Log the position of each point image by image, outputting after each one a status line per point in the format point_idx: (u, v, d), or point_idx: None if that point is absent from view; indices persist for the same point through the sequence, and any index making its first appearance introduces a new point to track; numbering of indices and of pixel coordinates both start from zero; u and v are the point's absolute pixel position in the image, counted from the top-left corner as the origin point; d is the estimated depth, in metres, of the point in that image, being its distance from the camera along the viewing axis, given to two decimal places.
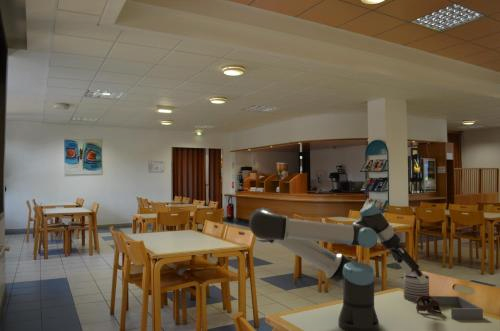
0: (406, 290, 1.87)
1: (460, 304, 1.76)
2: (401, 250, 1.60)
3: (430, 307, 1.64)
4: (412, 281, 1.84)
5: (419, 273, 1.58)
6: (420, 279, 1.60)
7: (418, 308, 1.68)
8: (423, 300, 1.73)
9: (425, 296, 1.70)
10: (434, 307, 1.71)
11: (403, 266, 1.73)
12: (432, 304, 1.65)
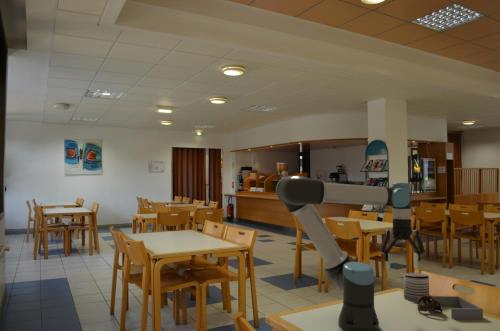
0: (406, 290, 1.87)
1: (460, 304, 1.76)
2: None
3: (431, 307, 1.64)
4: (412, 281, 1.84)
5: None
6: None
7: (419, 308, 1.68)
8: (424, 300, 1.72)
9: (426, 296, 1.70)
10: (435, 307, 1.71)
11: None
12: (433, 304, 1.65)
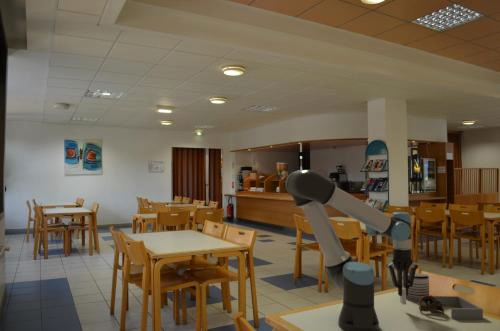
0: None
1: (460, 304, 1.76)
2: None
3: (433, 307, 1.64)
4: None
5: None
6: None
7: (421, 308, 1.67)
8: (426, 300, 1.72)
9: (428, 296, 1.70)
10: (437, 307, 1.71)
11: None
12: (435, 304, 1.64)
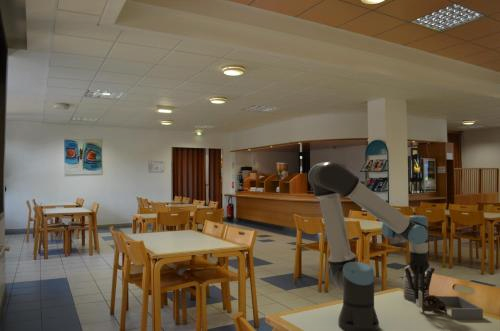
0: (406, 290, 1.87)
1: (460, 304, 1.76)
2: None
3: (436, 307, 1.64)
4: None
5: None
6: None
7: (424, 308, 1.67)
8: (428, 300, 1.72)
9: (431, 296, 1.70)
10: (440, 307, 1.70)
11: None
12: (438, 304, 1.64)
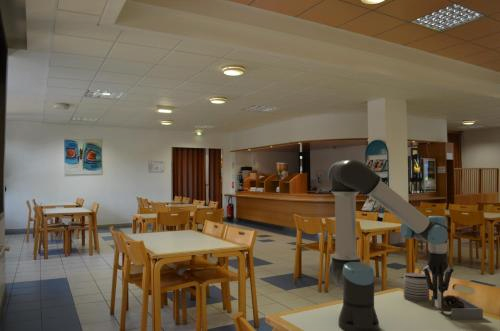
0: (406, 290, 1.87)
1: None
2: None
3: None
4: (412, 281, 1.84)
5: None
6: None
7: (443, 309, 1.67)
8: (447, 300, 1.72)
9: (450, 296, 1.70)
10: (458, 307, 1.70)
11: None
12: (457, 304, 1.64)
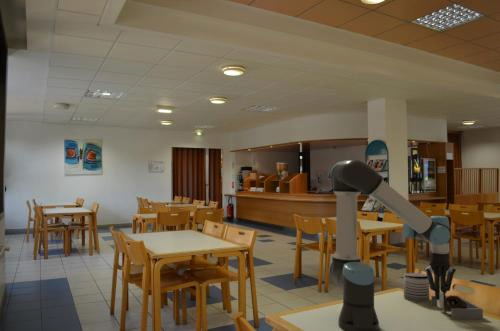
0: (406, 290, 1.87)
1: None
2: None
3: None
4: (412, 281, 1.84)
5: None
6: None
7: (446, 309, 1.67)
8: (450, 301, 1.72)
9: (452, 297, 1.70)
10: None
11: None
12: (460, 305, 1.64)
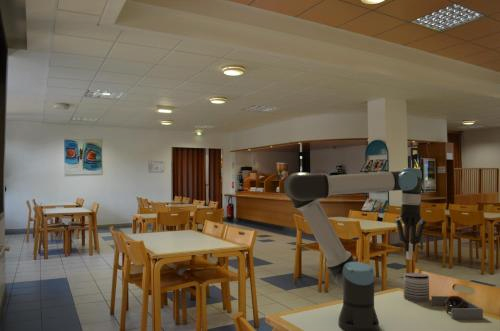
0: (406, 290, 1.87)
1: None
2: None
3: None
4: (412, 281, 1.84)
5: None
6: None
7: (448, 309, 1.67)
8: (451, 301, 1.72)
9: (454, 297, 1.69)
10: None
11: None
12: (463, 305, 1.64)
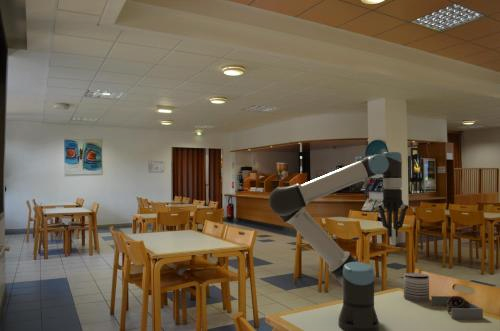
0: (406, 290, 1.87)
1: None
2: None
3: None
4: (412, 281, 1.84)
5: None
6: None
7: (449, 309, 1.66)
8: (453, 301, 1.71)
9: (456, 297, 1.69)
10: None
11: None
12: (464, 305, 1.64)
